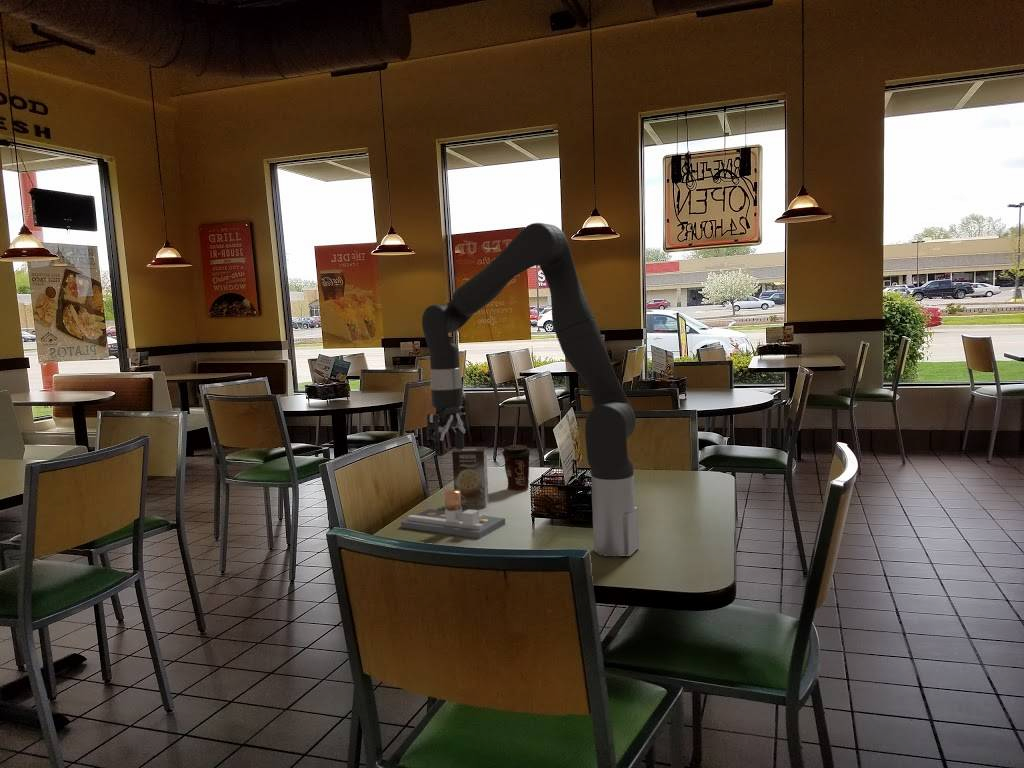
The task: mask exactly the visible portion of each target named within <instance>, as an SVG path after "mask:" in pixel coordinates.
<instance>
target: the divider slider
mask: <svg viewBox="0 0 1024 768" xmlns="http://www.w3.org/2000/svg"><path fill="white" fill-rule="evenodd" d="M443 494H444V506H445V509H444V511H445V516H446V521H447V522H455V523H456V522H458V521H460V520H462V512H464V511H467V510H468V509H467V510H463V508H462V506H461V490H459V489H454V488H450V489H446V490H444V493H443Z"/></svg>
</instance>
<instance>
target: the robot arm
mask: <svg viewBox="0 0 1024 768" xmlns="http://www.w3.org/2000/svg"><path fill="white" fill-rule="evenodd" d="M570 248H571V247H570V245H569V241H568V239H567V236H566V235H565V233H564V231H563V230H562V229H560V228H559V227H558V226H557V225H553V224H548V223H543V222H542V223H541V222H535V223H530V224H528V225H527V226H525V227H524V228H523V229H522V230H520V232H519V233H518V234H517V235H516V236H515V237H514V238H513V239H512V240H511V241H510V242H509V244H508V245H507V246H506V247H505V248H504V249H503V250H502V251H501V252H500V253H499V254H498V255H496V257H495V258H494V259H493V260H492V261H491V262H490V263H489V264H488V265H486V266H485V267H484V268H483V269H482V270H480V271H479V272H478V273H477V274H475V275H474V276H473V277H471V278H470V279H468V280H467V281H466V282H465V283H463V284H462V285H461V286H459V288H456V290H455V291H454V292H453V294H452V299H451V300H450V301H448V302H447V303H444V304H432V305H429V306H427V307H426V308H425V309H424V311H423V314H422V317H421V327H422V332H423V335H424V338H425V342H426V345H427V348H428V350H429V363H430V379H429V380H430V393H431V394H430V395H431V406H432V407H433V408H435V413H434V414H433V413H428V414H427V415H426V418H427V419H426V420H427V421H426V422H427V423H426V424H427V439H429V440H433V443H434V446H433V447H434V453H435V456H437V457H443V456H445V443H444V438H445V435H446V434H447V433H448V432H449V429H453V431H454V441H455V442H454V444H455V447H456V449H463V448H464V447H465V433H466V431H469V430H470V422H469V420H470V419H469V412H468V411H469V410H468V407H467V406H462V405H463V404H464V403H463V386H462V385H463V384H462V383H463V381H462V374H461V369H460V353H459V347H458V346H457V344H455V343H452V342H451V340H450V335H449V334H450V333H451V334H452V333H454V332H456V331H458V330H459V329H460V328H462V327H463V326H464V325H466V323H467V322H468V321H469V320H470V319H471V318H472V317H473V315H474V314H476V313H478V312H479V311H480V310H482V309H483V308H484V307H485V306H487V305H488V304H489V303H491V302H492V301H493V300H495V299H496V297H498V295H499V294H500V293H501V292H502V291H503V290H504V288H505V287H506V286H507V284H508V283H509V282H510V281H511V280H513V279H514V278H515V277H517V276H518V275H519V274H522V273H523V272H524V271H527V270H528V269H531V268H533V267H535V266H537V267H539V268H540V269H541V272H542V274H543V276H544V278H545V281H546V284H547V286H548V288H549V292H550V300H551V320H552V325H553V330H554V333H555V334H556V338H557V341H558V343H559V346H560V348H561V350H562V353H563V355H564V357H565V359H566V360H567V361H568V362H569V364H570V365H571V367H572V368H573V369H574V370H575V372H576V373H577V374H578V376H579V377H580V378H581V380H582V381H583V383H584V384H585V386H586V388H587V390H588V392H589V395H590V398H591V400H592V404H593V408H592V409H591V410H590V411H589V412H588V413H587V416H586V418H585V425H584V433H585V435H584V436H585V447H586V458H587V463H588V465H589V467H590V474H591V475H590V476H591V479H590V480H591V505H592V508H591V509H592V530H593V531H592V533H593V535H592V536H593V552H594V551H595V552H596V553H598V554H601V555H607V556H619V555H628V556H629V555H631V554H632V553H633V552H634V551H635V550H637V549H638V548H639V549H640V533H639V531H640V530H639V528H640V527H639V507H637V506H635V481H634V480H635V479H634V478H635V475H634V463H633V462H632V460H631V459H629V456H628V445H627V444H628V443H627V439H629V438H630V436H632V435H633V433H634V431H635V429H636V425H637V419H636V415H635V411H634V409H633V407H632V405H631V403H630V401H629V399H628V397H627V395H626V393H625V391H624V389H623V387H622V385H621V383H620V381H619V379H618V377H617V374H616V373H615V369H614V367H613V364H612V361H611V358H610V355H609V354H608V353H609V352H608V350H607V348H606V344H605V343H604V339H603V336H602V334H601V331H600V328H599V326H598V323H597V320H596V318H595V315H594V313H593V312H592V311H593V310H592V309H591V306H590V304H589V301H588V299H587V296H586V294H585V291H584V288H583V287H582V285H581V282H580V280H579V276H578V273H577V270H576V266H575V264H574V263H575V262H574V259H573V256H572V252H571V249H570ZM639 549H638V550H639ZM638 550H637V551H638ZM595 552H594V553H595ZM596 553H595V554H596ZM598 554H597V555H598ZM601 555H600V556H601Z"/></svg>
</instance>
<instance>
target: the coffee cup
mask: <svg viewBox="0 0 1024 768" xmlns="http://www.w3.org/2000/svg"><path fill="white" fill-rule="evenodd" d="M530 455H531V452H530V450H529V449H528V446H527V445H523V444H511V445H507V446H504V447H503V451H502V456H503V458H504V459H503V460H504V471H505V474H506V478H507V488H506V489H507V491H508V492H512V493H524V492H526V491H528V489H529V483H530V479H529V478H530Z"/></svg>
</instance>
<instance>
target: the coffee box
mask: <svg viewBox="0 0 1024 768" xmlns="http://www.w3.org/2000/svg"><path fill="white" fill-rule="evenodd" d="M451 455H452V456H451V458H452V470H453V471H452V473H453V489H459V490H461V506H462V509H464V508H465V509H468V508H470V509H471V508H473V509H474V508H476V509H477V508H487V506H488V504H489V501H490V500H489V483H488V482H489V481H488V479H489V478H488V456H487V455H488V454H487V447H486V446H464V448H463V449H456V446H455V447H454V448H453V450H452V452H451Z"/></svg>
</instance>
